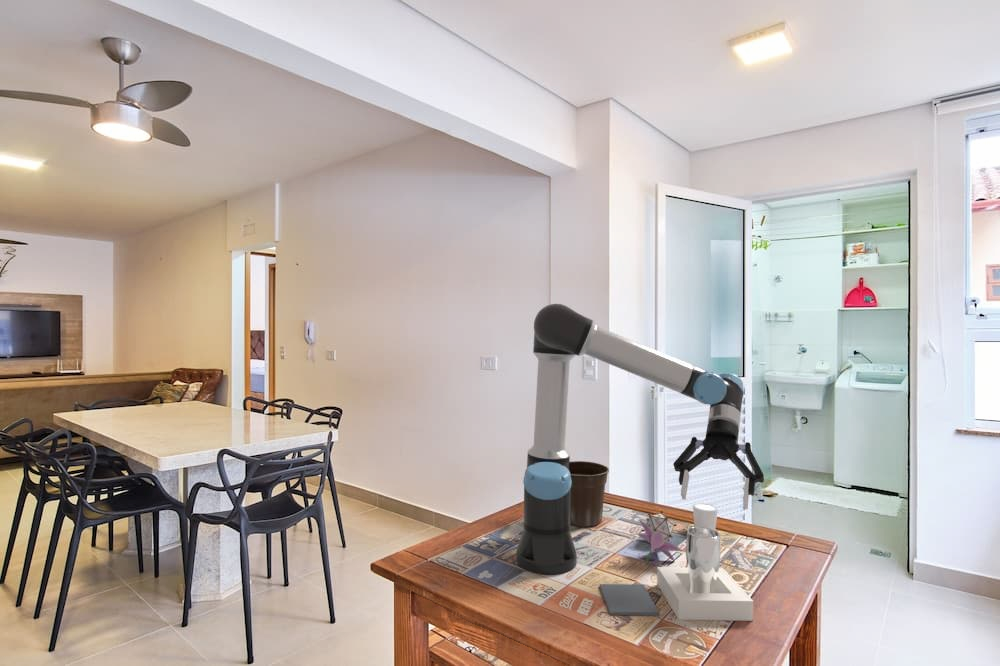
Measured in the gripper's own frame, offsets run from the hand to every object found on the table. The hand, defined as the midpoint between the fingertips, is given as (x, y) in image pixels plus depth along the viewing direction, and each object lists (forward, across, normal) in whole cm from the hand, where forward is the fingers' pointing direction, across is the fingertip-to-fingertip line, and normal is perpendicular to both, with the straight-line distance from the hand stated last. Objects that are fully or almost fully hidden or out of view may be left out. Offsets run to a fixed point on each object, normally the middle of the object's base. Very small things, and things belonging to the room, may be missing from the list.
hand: (713, 501), depth 126 cm
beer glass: (+21, 0, -6) cm, 22 cm away
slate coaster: (+26, +14, 0) cm, 30 cm away
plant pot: (-2, +41, -28) cm, 50 cm away
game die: (+2, +16, -25) cm, 30 cm away
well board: (+21, 0, -5) cm, 22 cm away
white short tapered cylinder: (-10, +7, -36) cm, 38 cm away
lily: (+10, +14, -17) cm, 24 cm away
